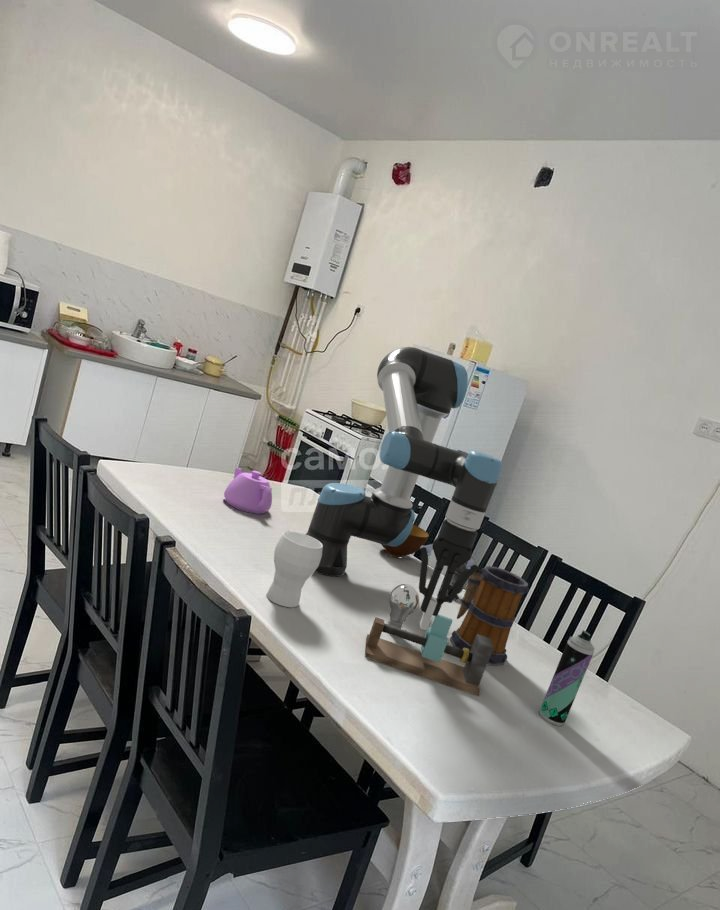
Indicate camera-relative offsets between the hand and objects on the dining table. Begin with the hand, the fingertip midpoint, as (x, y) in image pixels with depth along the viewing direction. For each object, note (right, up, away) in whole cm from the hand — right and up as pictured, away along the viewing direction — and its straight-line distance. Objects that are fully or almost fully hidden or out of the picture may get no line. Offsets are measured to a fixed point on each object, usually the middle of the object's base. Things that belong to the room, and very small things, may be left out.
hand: (423, 626), depth 147 cm
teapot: (-51, +20, +78) cm, 95 cm away
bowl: (-2, +4, +81) cm, 81 cm away
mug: (+14, -11, +24) cm, 30 cm away
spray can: (+27, -19, -2) cm, 33 cm away
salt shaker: (+13, -5, +58) cm, 60 cm away
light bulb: (-6, -5, +15) cm, 17 cm away
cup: (-31, +3, +11) cm, 33 cm away
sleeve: (+2, -6, +1) cm, 7 cm away
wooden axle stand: (0, -9, +1) cm, 9 cm away
